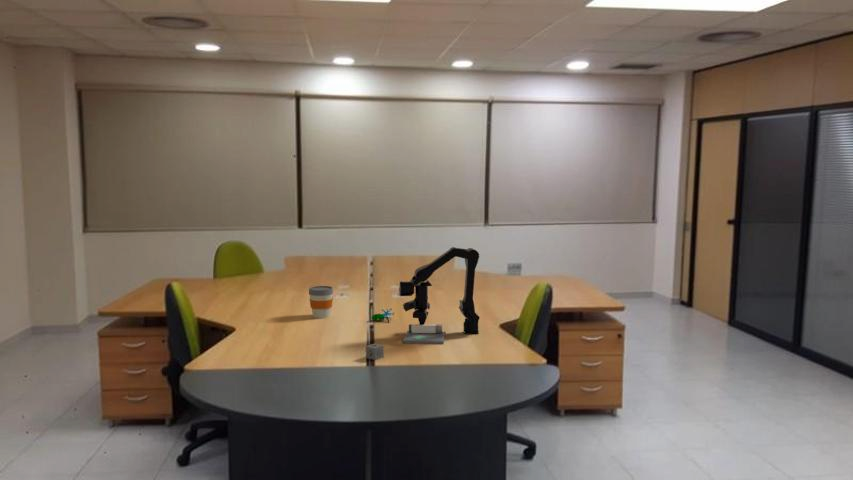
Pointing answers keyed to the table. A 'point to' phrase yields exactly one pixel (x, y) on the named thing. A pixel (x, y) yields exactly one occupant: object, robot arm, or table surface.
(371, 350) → the dice cube
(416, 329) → the light grey rounded bar
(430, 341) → the plate
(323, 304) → the reusable coffee cup
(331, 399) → the table surface
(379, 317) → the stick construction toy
